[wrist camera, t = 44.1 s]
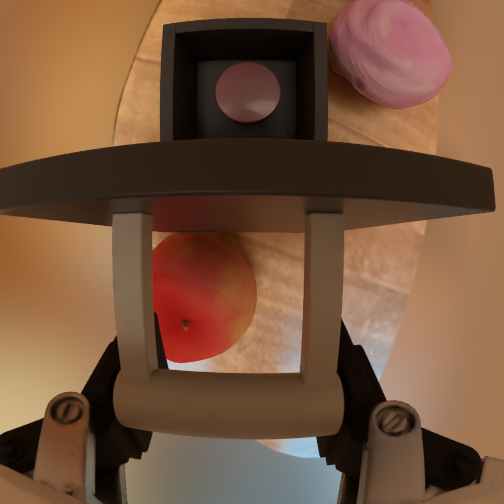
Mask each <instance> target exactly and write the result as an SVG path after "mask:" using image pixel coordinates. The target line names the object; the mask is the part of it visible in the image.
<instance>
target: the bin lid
mask: <svg viewBox="0 0 504 504" xmlns="http://www.w3.org/2000/svg"><path fill="white" fill-rule="evenodd" d="M495 208H496V207H495V195H494V182H493V174H492V170H491V168H488V167H484V166H480V165H476V164H472V163H468V162H463V161H459V160H454V159H450V158H445V157H440V156H435V155H430V154H424V153H418V152H412V151H406V150H400V149H393V148H386V147H378V146H370V145H361V144H352V143H342V142H330V141H316V140H299V139H272V138H219V139H193V140H175V141H162V142H150V143H140V144H130V145H122V146H114V147H106V148H100V149H93V150H86V151H80V152H74V153H69V154H63V155H58V156H53V157H48V158H43V159H38V160H34V161H29V162H25V163H21V164H17V165H13V166H9V167H5V168H2V169H0V215H9V216H19V217H29V218H38V219H48V220H58V221H66V222H76V223H85V224H94V225H104V226H112V227H113V232H112V254H113V255H112V256H113V258H112V259H113V289H114V306H115V318H116V329H117V340H118V349H119V357H120V364H121V370H120V372H119V373H118V375H117V378H116V381H115V385H114V392H113V405H114V411H115V415H116V418H117V420H118V421H119V423H120V424H122V425H123V426H125V427H129V428H135V429H140V430H146V431H152V432H159V433H166V434H174V435H183V436H193V437H205V438H221V439H289V438H305V437H317V436H327V435H334V434H336V433H338V432H339V430H340V428H341V425H342V421H343V415H344V395H343V388H342V384H341V381H340V378H339V376H338V374H337V373H336V372H337V362H338V352H339V341H340V328H341V313H342V295H343V269H344V230H351V229H358V228H366V227H374V226H382V225H390V224H397V223H405V222H413V221H421V220H429V219H436V218H445V217H453V216H461V215H470V214H478V213H487V212H493V211H495ZM152 231H157V232H288V233H305V260H304V301H303V327H302V347H301V364H300V373H214V372H195V371H181V370H169V369H158V361H157V351H156V338H155V324H154V306H153V280H152Z"/></svg>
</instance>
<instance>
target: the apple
mask: <svg viewBox="0 0 504 504" xmlns="http://www.w3.org/2000/svg"><path fill="white" fill-rule="evenodd" d="M152 280H153V306H154V312H156V313H157V316H158V321H159V326H160V332H161V336H162V341H163V346H164V351H165V355H166V359H168V360H170V361H173V362H176V363H187V362H194V361H199V360H203V359H207V358H211V357H214V356H216V355H219V354H221V353H223V352H225V351H226V350H228V349H229V348H231V347H232V346H233V345H234V344H235V343H236V342H237V341H238V340H239V339H240V338H241V336H242V335H243V334H244V333H245V332H246V330H247V329H248V327H249V325H250V323H251V321H252V318H253V316H254V312H255V308H256V301H257V288H256V281H255V277H254V274H253V272H252V269H251V268H250V266H249V264H248V263H247V262H246V260H245V259H244V258H243V257H242V256H241V255H240V254H238V253H237V252H236V251H234V250H233V249H231V248H230V247H228V246H226V245H225V244H223V243H221V242H218V241H216V240H214V239H211V238H209V237H205V236H202V235H197V234H190V233H183V234H177V235H173V236H171V237H168V238H167V239H165V240H163V241H162V242H161V243H160V244H159V245H157V246H156V248H155V249H154V250H153V251H152Z"/></svg>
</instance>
